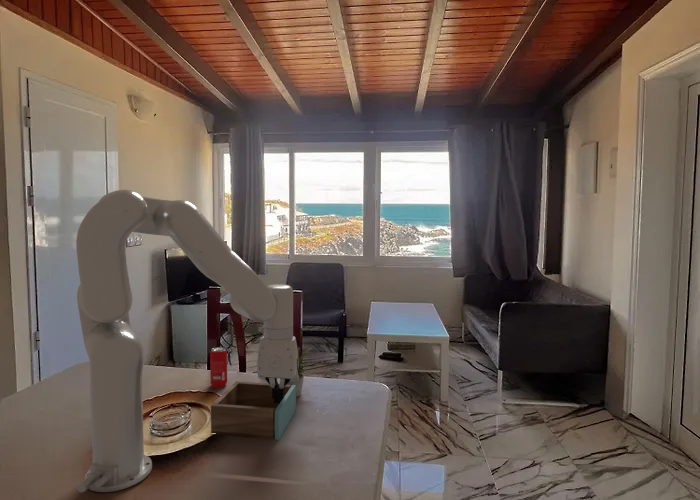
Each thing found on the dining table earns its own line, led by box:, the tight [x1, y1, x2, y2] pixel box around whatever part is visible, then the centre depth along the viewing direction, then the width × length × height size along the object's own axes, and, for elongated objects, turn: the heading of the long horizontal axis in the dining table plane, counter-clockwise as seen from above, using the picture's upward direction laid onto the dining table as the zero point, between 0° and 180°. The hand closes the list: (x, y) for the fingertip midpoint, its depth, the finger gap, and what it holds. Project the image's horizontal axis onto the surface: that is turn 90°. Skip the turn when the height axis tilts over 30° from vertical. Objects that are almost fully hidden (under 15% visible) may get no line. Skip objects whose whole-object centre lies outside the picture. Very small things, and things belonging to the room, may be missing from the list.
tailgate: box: [274, 385, 297, 441], centre depth 114 cm, size 16×1×7 cm, turn 172°
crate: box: [210, 380, 291, 441], centre depth 115 cm, size 16×16×8 cm
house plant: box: [287, 347, 314, 398], centre depth 133 cm, size 14×14×16 cm
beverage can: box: [209, 346, 228, 389], centre depth 140 cm, size 5×5×12 cm
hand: (278, 401), depth 114 cm, fingers closed
